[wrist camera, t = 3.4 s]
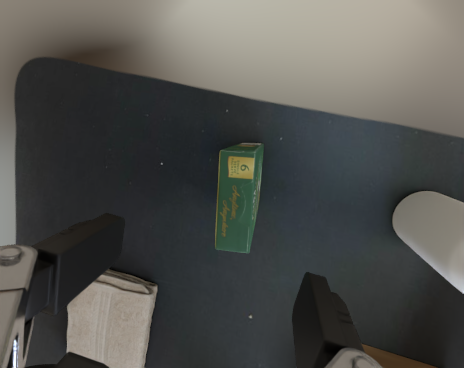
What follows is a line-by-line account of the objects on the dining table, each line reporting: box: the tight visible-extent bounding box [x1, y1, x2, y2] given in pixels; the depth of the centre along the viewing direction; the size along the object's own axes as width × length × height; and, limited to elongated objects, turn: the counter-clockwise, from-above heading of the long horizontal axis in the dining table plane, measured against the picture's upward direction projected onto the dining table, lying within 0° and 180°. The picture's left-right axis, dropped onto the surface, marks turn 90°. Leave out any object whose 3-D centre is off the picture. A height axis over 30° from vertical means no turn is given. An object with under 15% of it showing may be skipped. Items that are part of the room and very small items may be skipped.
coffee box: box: [215, 143, 264, 253], centre depth 26 cm, size 8×3×13 cm, turn 176°
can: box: [392, 191, 464, 293], centre depth 24 cm, size 6×6×12 cm
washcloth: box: [67, 269, 157, 368], centre depth 38 cm, size 12×18×3 cm, turn 169°
